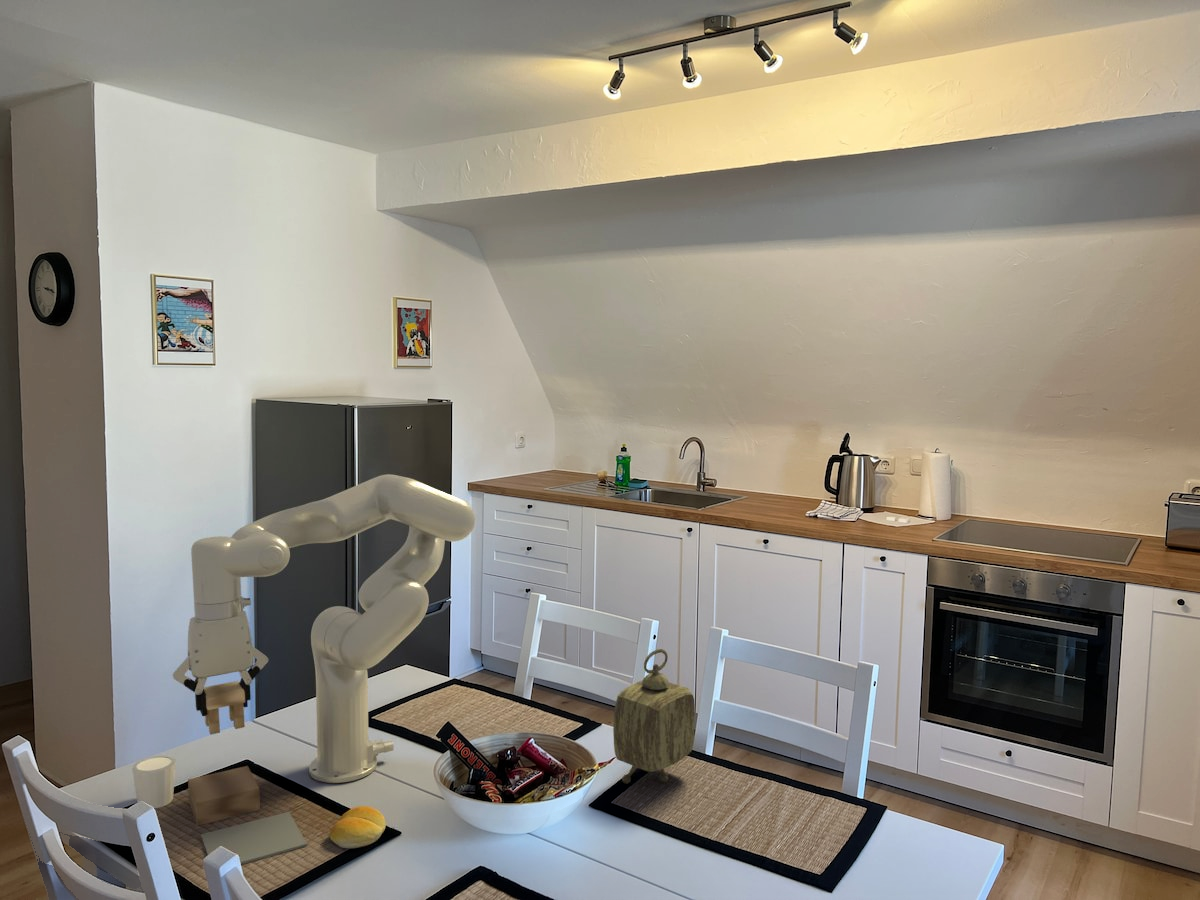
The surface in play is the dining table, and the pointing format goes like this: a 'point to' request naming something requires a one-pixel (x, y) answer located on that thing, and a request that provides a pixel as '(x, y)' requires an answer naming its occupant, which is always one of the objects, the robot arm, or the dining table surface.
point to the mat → (257, 838)
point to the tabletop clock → (653, 723)
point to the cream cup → (155, 780)
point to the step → (223, 795)
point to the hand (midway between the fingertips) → (223, 708)
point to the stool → (224, 704)
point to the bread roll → (358, 827)
